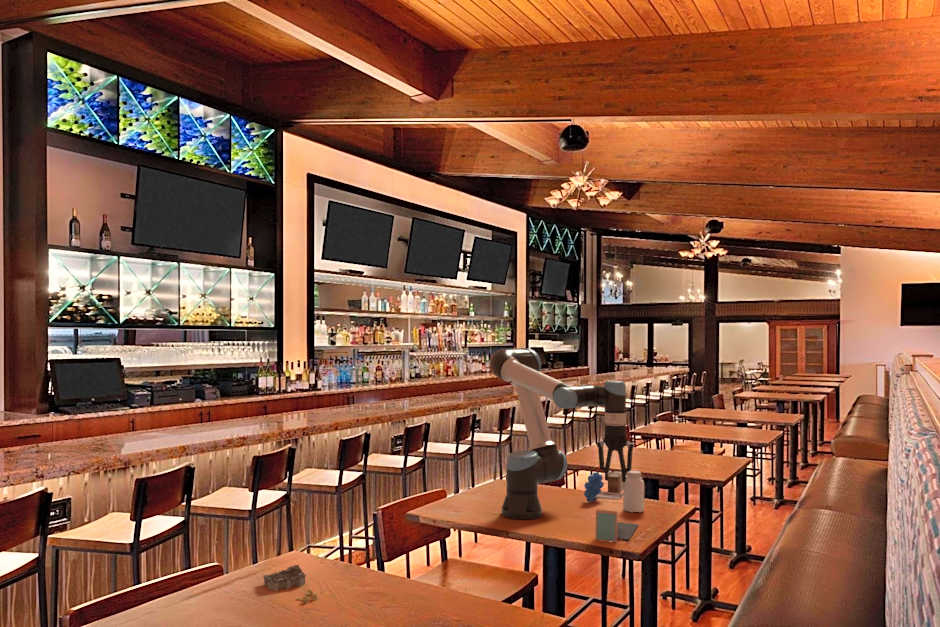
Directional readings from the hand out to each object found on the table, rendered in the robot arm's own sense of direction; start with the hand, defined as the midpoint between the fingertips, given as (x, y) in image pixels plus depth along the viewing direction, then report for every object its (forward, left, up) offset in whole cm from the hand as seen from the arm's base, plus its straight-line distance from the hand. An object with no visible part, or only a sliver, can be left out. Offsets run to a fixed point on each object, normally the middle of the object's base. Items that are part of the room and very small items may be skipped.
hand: (615, 490), depth 266 cm
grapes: (-16, +35, -13) cm, 41 cm away
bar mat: (+2, -5, -13) cm, 14 cm away
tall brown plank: (0, -3, 0) cm, 3 cm away
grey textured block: (-73, -94, -14) cm, 120 cm away
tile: (0, -18, -13) cm, 22 cm away
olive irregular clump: (-61, -101, -14) cm, 119 cm away
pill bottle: (+2, +27, -13) cm, 30 cm away
